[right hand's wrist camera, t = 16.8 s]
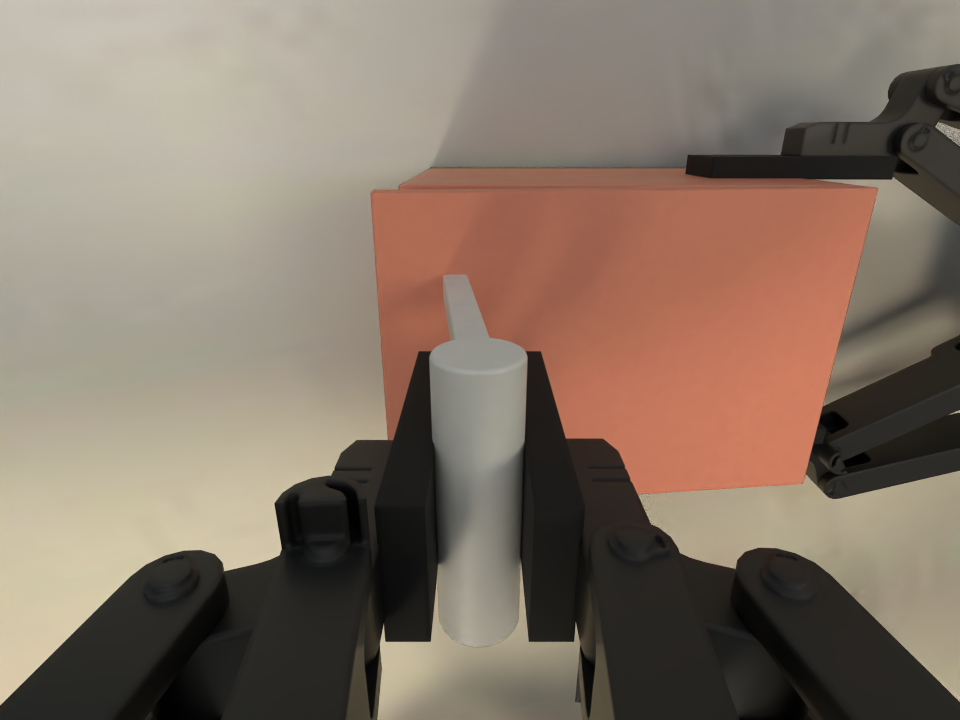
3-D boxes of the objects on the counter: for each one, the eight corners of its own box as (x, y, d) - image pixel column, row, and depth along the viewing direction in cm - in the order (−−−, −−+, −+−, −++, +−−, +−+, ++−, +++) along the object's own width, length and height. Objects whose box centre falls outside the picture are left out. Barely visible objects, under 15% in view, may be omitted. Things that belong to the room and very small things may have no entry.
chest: (437, 358, 31) (412, 467, 21) (430, 167, 28) (397, 184, 17) (688, 359, 31) (788, 469, 21) (716, 167, 27) (857, 184, 17)
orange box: (393, 494, 19) (378, 732, 12) (373, 189, 16) (328, 240, 8) (788, 470, 21) (1009, 668, 13) (856, 185, 17) (1225, 224, 9)
